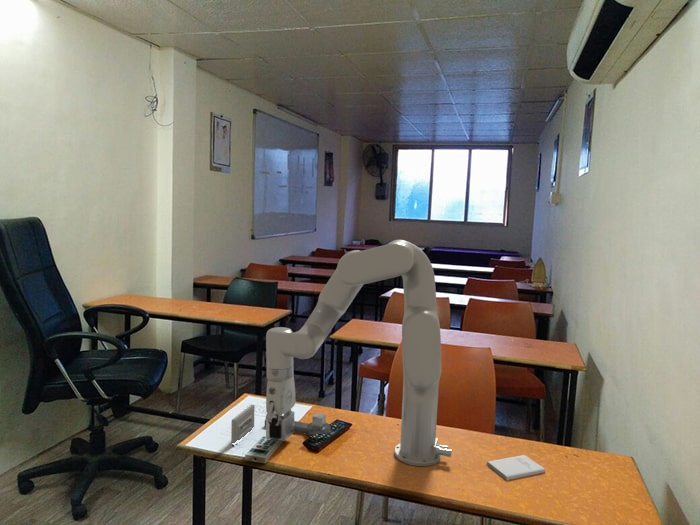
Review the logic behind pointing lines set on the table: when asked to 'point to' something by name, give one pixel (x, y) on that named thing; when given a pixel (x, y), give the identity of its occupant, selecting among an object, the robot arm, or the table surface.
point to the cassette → (242, 424)
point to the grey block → (284, 425)
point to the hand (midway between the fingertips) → (280, 432)
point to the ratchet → (313, 425)
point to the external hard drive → (515, 467)
